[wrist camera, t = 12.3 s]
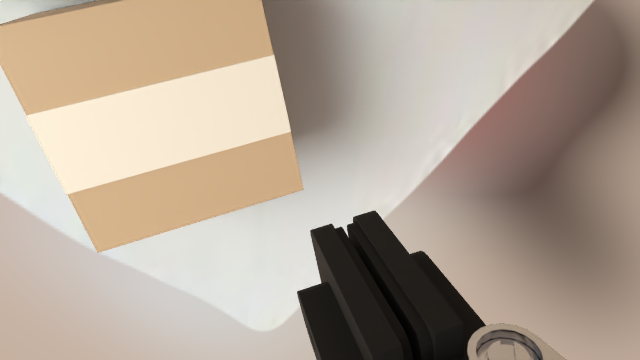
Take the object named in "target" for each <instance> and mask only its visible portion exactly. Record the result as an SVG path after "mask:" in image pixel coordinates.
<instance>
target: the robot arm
mask: <svg viewBox="0 0 640 360" xmlns="http://www.w3.org/2000/svg"><path fill="white" fill-rule="evenodd" d="M347 231H348V236H349V238H348V236H347V234H346V233H345V231H344V229H343V228H342V227H339V228H336V229H335V228H334V226H333V225H332V224H329V225H326V226H322V227H319V228H316V229H313V230H311V231H310V232H311V238H312V243H313V247H314V251H315V256H316V260H317V265H318V269H319V274H320V278H321V284H318V285H315V286H312V287H309V288H306V289H303V290H300V291H297V294H298V298H299V302H300V306H301V309H302V313H303V317H304V321H305V324H306V328H307V331H308V334H309V337H310V341H311V344H312V347H313V350H314V352H315V356H316V359H317V360H566V359H565V358H564V357H563V356H561V355H560V354H559V353H558V352H557V351H555V350H554V349H553V348H552V347H550V346H549V345H548V344H547V343H546V342H544V341H543V340H542V339H541V338H540V337H538V336H537V335H535V334H534V333H532V332H531V331H529V330H527V329H525V328H522V327H519V326H517V325H512V324H505V323H499V324H490V325H487V326H486V325H485V324H484V322H483V321H482V320H481V319H480V317H479V316H478V315H477V314H476V313H475V312H474V310H473V309H472V308H471V307H470V306H469V304H468V303H467V302H466V301H465V300H464V298H463V297H462V296H461V295H460V294H459V293H458V291H457V290H456V289H455V288H454V286H453V285H452V284H451V283H450V282H449V281H448V279H447V278H446V277H445V276H444V275H443V273H442V272H441V271H440V270H439V269H438V268H437V266H436V265H435V264H434V263H433V262H432V260H431V259H430V258H429V257H428V255H426V254H425V253H424V252H423V251H419V252H416V253H412V254H409V253H408V252H407V250H406V249H405V248H404V246H403V245H402V244H401V243H400V242H399V240H398V239H397V238H396V236H395V235H394V234H393V232H392V231H391V230H390V229H389V227H388V226H387V225H386V224H385V222H384V221H383V220H382V218H381V217H380V216H379V214H378V213H377V212H376V211H371V212H368V213H365V214H361V215H358V216H355V217H353V223H352V224H349V225H347Z"/></svg>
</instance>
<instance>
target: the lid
mask: <svg viewBox="0 0 640 360" xmlns="http://www.w3.org/2000/svg"><path fill="white" fill-rule="evenodd" d="M0 65H1V67H2V69H3V71H4V73H5V75H6V77H7V78H8V80H9V82H10V84H11V86H12V88H13V90H14V92H15V94H16V96H17V98H18V100H19V102H20V104H21V105H22V107H23V109H24V111H25V113H26V118H27V120H28V122H29V124H30V126H31V128H32V130H33V132H34V134H35V136H36V137H37V139H38V141H39V143H40V145H41V147H42V149H43V151H44V153H45V155H46V157H47V159H48V161H49V162H50V164H51V166H52V168H53V170H54V172H55V174H56V176H57V178H58V180H59V182H60V184H61V186H62V188H63V189H64V191H65V193H66V195H67V194H68V196H69V198H70V200H71V202H72V204H73V206H74V208H75V210H76V212H77V214H78V216H79V218H80V220H81V221H82V223H83V225H84V227H85V229H86V231H87V233H88V235H89V237H90V239H91V241H92V243H93V245H94V247H95V249H96V250H97V252H98V253H99V252H102V251H105V250H108V249H112V248H115V247H118V246H121V245H125V244H128V243H131V242H134V241H138V240H141V239H144V238H147V237H151V236H154V235H157V234H160V233H164V232H167V231H170V230H173V229H177V228H180V227H183V226H186V225H190V224H193V223H196V222H200V221H203V220H206V219H209V218H213V217H216V216H219V215H222V214H226V213H229V212H232V211H235V210H239V209H242V208H245V207H248V206H252V205H255V204H258V203H261V202H265V201H268V200H271V199H274V198H278V197H281V196H284V195H287V194H291V193H294V192H297V191H300V190H304V189H303V185H302V180H301V176H300V171H299V167H298V162H297V158H296V153H295V149H294V144H293V140H292V135H291V129H290V124H289V119H288V115H287V110H286V106H285V101H284V97H283V92H282V88H281V83H280V79H279V74H278V70H277V65H276V61H275V56H274V54H273V50H272V45H271V41H270V36H269V32H268V27H267V23H266V18H265V14H264V9H263V5H262V0H121V1H116V2H111V3H107V4H102V5H97V6H92V7H87V8H82V9H78V10H73V11H68V12H63V13H58V14H53V15H49V16H44V17H39V18H34V19H29V20H25V21H20V22H15V23H10V24H5V25H0Z"/></svg>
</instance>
